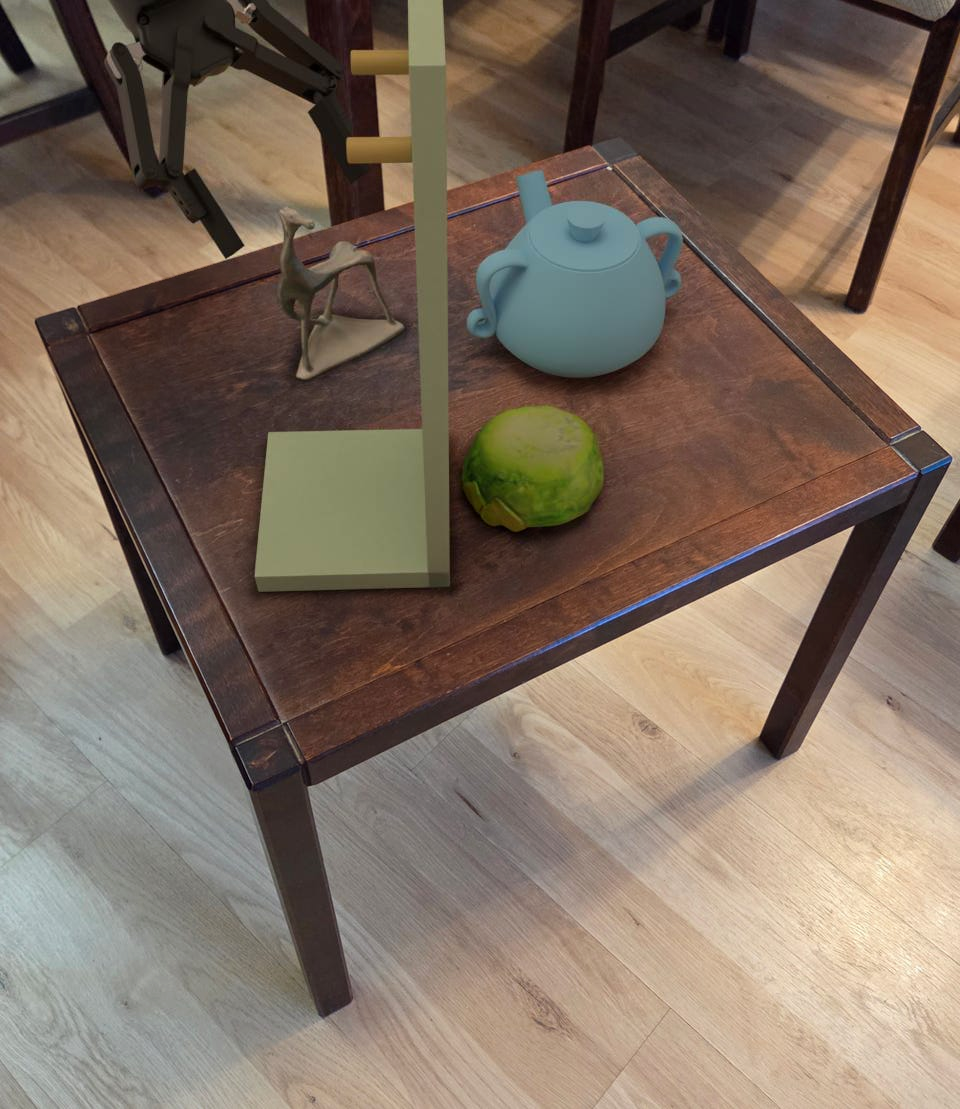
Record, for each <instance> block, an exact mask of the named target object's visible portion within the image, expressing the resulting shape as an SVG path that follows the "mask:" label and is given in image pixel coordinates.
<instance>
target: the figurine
mask: <svg viewBox="0 0 960 1109" xmlns="http://www.w3.org/2000/svg"><path fill="white" fill-rule="evenodd" d="M277 214H278V217H279V218H280V220H281V224H282V230H283V239H282V240H283V242H282V248H281V251H280V254H279V257H278V258H279V259H278V265H279V269H280V276H279V280H278V286H277V290H276V298H277V304H278V306H279V308H280V311H281V312H282V313H283V314H284V315H285V316H286V317H287V318H289V319H292V320H297V321H299V322H300V345H301V357H300V360H299V363H298V368H297V371H296V374H295V377H296V378H297V379H300V380H305V381H306V380H309V379H311V378H313V377H316V376H318V375H320V374H323V373H324V372H326V371H328V370H331V369H333V368H335V367H338V366H340V365H343V364H345V363H347V362H350V361H352V360H355V359H356V358H359V357H361V356H363V355H365V354H367V353H369V352H371V351H373V350H374V349H376V348H378V347H379V346H381V345H383V344H385V343H386V342H388V341H390V340H391V339H392V338H394V337H396V336H398V335H399V334H401V333H402V332H403V331H405V326H404V324H403V323H402V322H400V321H398V320H395V318H394V316H393V315H392V313H391V311H390V309H389V308H388V305H387V303H386V300H385V298H384V296H383V293H382V291H381V288H380V286H379V284H378V281H377V279H378V278H377V269H376V263H375V259H374V257H373V256H372V254H371V253H370V252H368V251H367V250H363V249H358V247H357V245H353V244H352V243H351V242H349V241H346V240H341V241H338V242H337V243H335V245H334V246H333V247H332V249H331V250H330V253H329V255H328V259H327V260H325V261H322V262H320V263H317V264H315V265H312V266H311V267H309V268H308V267H306V265H305V264H304V263H303V262H302V261H301V260H300V258H299V257H298V255H297V254H296V251H295V246H294V238H295V236H296V235H295V234H296V233H297V231H298V230H299V229H300V227H304V228H305V229H307V230H309V231H311V230H314V228H315V226H316V224H315V222H314V221H313V220H312V219H310V218H309V217H305V216H303V215H302V214H301V213H299V212H298V211H297V210H296V209H294V208H291V207H290V206H288V205H286V206H284V207H283V208H278V209H277ZM358 266H362V267H363V269H364V270H365V272H366V273H367V276H368V279H369V282H370V284H371V287H372V291H373V294H374V296H375V298H376V299H377V301H378V303H379V305H380V306H381V308H382V310H383V312H384V314H385V319H366V318H365V319H364V318H353V317H347V316H343V315H337V314H332V311H333V310H332V308H333V304H334V300H335V296H336V294H337V291H338V288H339V277H340V274H341V273H343V272H344V271H346V270H347V271H348V270H350V269H351V268H353V267H358ZM329 284H330V285H329ZM328 285H329V288H328V289H329V291H328V294H327V300H326V303H325V307H324V310H323V314H321V315H319V317H318V318H310V317H311V310H312V305H313V301H314V298H315V295H316V294H317V293H319V292H320V291H321V290H324V288H326V287H327V286H328ZM296 301H297V302H298V303H299V306H300V309H301V314H299V313H297V312H296V311H295V305H296ZM310 325H312V326H313V328H312V330H311V332H310V334H309V326H310Z"/></svg>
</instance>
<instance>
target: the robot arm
mask: <svg viewBox="0 0 960 1109" xmlns="http://www.w3.org/2000/svg"><path fill="white" fill-rule="evenodd" d="M108 2H109V3H110V5H111V7H112V8H113V10H114V11H115V13H116V14H117V17H118V18H119V19H120V21H121V22H122V24H123V25H124V27H125V28H126V29H127V30H128V31H129V32H130V34H132V36H133V38H134V42H132V43H130V44H129V43H128V44H127V45H126V44H125V43H123V42H121V41H118V42H114V43H113V45H112V46H111V48H110V49H109V51H108V53H107V54H106V57H105V59H104V63H103V64H104V66H105V69H106V70H107V73H108V75H109V76H110V78H111V80H112V82H113V83H114V86H115V87H116V90H117V96H118V103H119V107H120V113H121V118H122V123H123V130H124V135H125V141H126V147H127V151H128V158H129V163H130V168H131V175H132V180H133V183H134V185H135V186H136V187H137V188H138V189H141V190H146V189H148V188H150V187H151V188H152V187H158V188H159V189H160V190H162V191H163V190H164V191H166V190H167V191H168V192H169V194H170V196H171V197H172V198H173V200H174V201H175V204H176V205H177V206H178V207H179V209H180V211H181V212H182V214H183V215H184V216H185V219H186V220H187V221H189V222H190V223H191V224H193V225H195V224H196V223H198V222H199V221H200V223H201V224H202V226H203V227H204V229H205V231H206V232H207V233H208V235H209V236H210V238H211V239H212V241H213V243H214V244H215V245H216V247H217V248H218V250H219V251H220V253H221V255H222V256H223V258H224V259H225V260H227V259H229V258H230V257H231V256H233V255H235V254H236V253H238V252H239V251H240V250H241V249H242V248H244V247H245V246H246V244H245V243H244V241H242V239H241V238H240V235H239V234H238V233H237V231H236V229H235V228H234V226H233V225H232V223H231V222H230V220H229V219H228V217H227V216H226V214H225V213H224V211H223V210H222V207H221V206H220V205H219V204H218V202H217V200H216V198H215V197H214V196H213V194H212V193H211V191H210V190H209V188H208V186H207V185H206V183H205V181H204V180H203V179H202V177H201V176H200V174H199V173H198V171H197V169H196V168H193V169H191V170H189V171H187V172H186V173H184V161H185V160H184V159H185V145H186V144H185V143H186V129H187V127H186V125H187V113H188V112H187V111H188V96H189V95H188V94H189V88H190V86H192V87H193V88H195V87H197V86H198V85H200V84H202V83H203V82H204V81H205V80H206V79H207V78H209V77H216V76H218V75H220V74H222V73H224V72H225V71H227V69H228V68H229V67H231V68H232V69H235V70H238V71H242V70H243V71H247V72H249V73H250V74H253V75H254V76H256V77H259V78H261V79H262V80H265V81H266V82H269V83H271V84H273V85H275V86H277V87H279V88H280V89H283V90H285V91H286V92H289V93H290V94H293V95H295V96H297V97H299V98H301V99H303V100H304V101H306V102H307V101H308V103H311V104H312V105H313V106H312V107H311V108H310V109H309V110H308V111H307V114H308V116H309V118H310V119H311V121H312V122H313V124H314V126H315V127H316V129H317V131H318V132H319V134H320V135H321V137H322V139H323V140H324V142H325V143H326V146H327V147H328V148H329V151H330V152H331V153H332V155H333V157H334V159H335V160H336V162H337V163H338V165H339V167H340V169H341V170H342V172H343V173H344V175H345V177H346V179H347V180H348V182H349V184H353V183H354V182H356V181H357V180H359V179H360V178H362V177H363V176H364V175H366V174H367V173H368V172H370V171H371V170H372V167H371V166H370V164H369V163H348V160H347V148H346V140H347V138H348V137H353V135H351V133H352V132H353V131H355V130H354V129H355V128H354V124H353V122H352V120H351V119H350V117H349V115H348V113H347V112H346V110H345V108H344V107H343V105H342V103H341V102H340V100H339V98H338V96H337V94H336V90H337V89H338V86H339V83H340V81H341V80H342V79H343V78H344V77H345V76H346V73H347V72H346V67H345V66H344V64H342V63H341V61H339V60H338V59H336V57H334V56H333V55H332V54H330V53H329V52H328V51H326V50H325V49H324V48H323V47H322V46H320V45H319V44H318V43H317V42H315V41H314V40H313V39H312V38H311V37H309V36H308V35H307V34H306V33H304V32H303V31H302V30H301V29H300V28H299V27H298V26H296V25H295V24H294V23H293V22H291V21H290V19H289V20H288V18H287V17H285V16H284V15H283V14H281V13H280V12H279V11H278V10H277V9H276V8H274V7H273V6H272V5H271V4H270V3H269V1H268V0H108ZM236 18H237V19H238V21H239V23H240V24H243V25H244V24H247V25H248V26H249V27H250V29H251V30H252V31H254V33H256V34H257V35H258V36H259V37H260V38H262V39H263V40H264V41H265V42H266V43H268V44H269V45H270V46H272V47H273V48H274V49H275V50H277V51H278V52H277V51H275V50H273V49H271V48H270V47H267V46H265V45H263V44H261V43H260V42H259V41H258V39H257V38H256V37H255V36H254V35H251V34H250V33H248V32H246V31H244V30H242V29H240V28H238V27H236ZM236 48H237V49H236ZM142 61H143V62H144V63H146V64H147V65H149V66H151V67H153V68H155V69H156V70H158V71H160V72H161V73H162V76H161V80H162V81H161V91H160V92H161V94H160V95H161V96H160V97H161V98H162V104H161V106H162V107H161V122H160V138H159V151H158V152H159V154H158V161H157V155H156V150H155V142H154V139H153V133H152V126H151V121H150V115H149V110H148V104H147V100H146V94H145V88H144V83H143V82H144V81H143V79H142V78H143V77H142V75H141V73H142V72H143V69H144V66H143V62H142Z"/></svg>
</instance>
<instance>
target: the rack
mask: <svg viewBox="0 0 960 1109" xmlns="http://www.w3.org/2000/svg"><path fill="white" fill-rule="evenodd" d="M407 31H408V32H407V33H408V34H407V36H408V38H407V40H408V45H407V46H408V49H352V50H351V51H350V69H351V70H350V71H351V74H352V76H402V75H404V76H405V75H406V76H408V83H409V86H408V87H409V107H410V108H409V109H410V110H409V111H410V112H409V113H410V135H411V136H352V137H348V138H347V140H346V148H347V160H348V163H368V164H411V163H412V164H411V165H412V190H413V191H412V192H413V216H414V219H413V221H414V243H415V244H414V246H415V273H416V274H415V275H416V298H417V299H416V300H417V326H418V328H417V329H418V352H419V353H418V354H419V378H420V379H419V380H420V382H419V383H420V405H421V407H420V408H421V428H397V429H396V428H395V429H393V428H392V429H353V430H352V429H351V430H350V429H349V430H348V429H347V430H346V429H345V430H305V431H304V430H303V431H299V430H298V431H268V433H267V441H266V443H267V444H266V452H265V462H264V475H263V484H262V494H261V505H260V513H259V514H260V515H259V526H258V536H257V547H256V557H255V565H254V566H255V568H254V579H255V584H256V588H257V591H258V592H259V593H265V592H266V593H267V592H268V593H271V592H304V591H336V590H337V591H338V590H339V591H343V590H375V589H376V590H377V589H379V590H380V589H381V590H382V589H412V588H414V589H415V588H449V587H451V586H450V585H451V572H450V569H451V568H450V564H451V563H450V562H451V559H450V557H451V555H450V552H451V551H450V548H451V547H450V438H449V437H450V434H449V433H450V431H449V428H450V427H449V426H450V425H449V423H450V420H449V414H450V413H449V412H450V411H449V410H450V409H449V305H448V304H449V303H448V302H449V299H448V298H449V294H448V293H449V292H448V290H449V286H448V285H449V284H448V279H449V277H448V169H447V168H448V158H447V156H448V155H447V154H448V152H447V150H448V149H447V143H448V142H447V137H448V136H447V59H446V57H447V56H446V39H445V37H446V36H445V18H444V0H407Z"/></svg>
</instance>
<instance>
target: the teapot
mask: <svg viewBox="0 0 960 1109" xmlns="http://www.w3.org/2000/svg"><path fill="white" fill-rule="evenodd" d="M515 181H516V187H517V190H518V195H519V199H520V203H521V208H522V213H523V217H524V220H525V225H524V226H523V227H522V228H521V229H520V230H519V231H518V233H517V234H516V235H515V236H514V237H513V238H512V239H511V240H510V242H509V243H508V245H507V246H506V247H505V248H504V249H501V250H498V251H495V252H493V253H491V254H489V255H488V256H487V257H485V258H484V259H483V260H482V262H481V263H480V264H479V266H478V267H477V270H476V275H475V283H476V284H475V285H476V290H477V294H478V297H479V301H480V303H481V305H482V308H479V307H478V308H475V309H473V310H472V311H470V312H469V314H468V316H467V317H466V328H467V331H468V332H469V333H470V334H471V335H472V336H473V337H475V338H479V339H488V338H491V337H492V336H494V335H495V336H496V338H497V340H498V341H499V343H501V344H502V346H503V347H504V348H506V350H508V351H509V352H510V353H511V354H512V355H513V356H514V357H516V358H517V359H518V360H521V362H523V363H524V364H526V365H528V366H530V367H532V368H534V369H535V370H537V371H540V372H542V373H545V374H548V375H552V376H555V377H561V378H570V379H585V378H595V377H599V376H603V375H606V374H609V373H612V372H613V373H614V372H616V371H618V370H621V369H622V368H625V367H628V366H629V365H631V364H632V363H635V362H636V361H638V360H639V359H641V358H642V357H643V356H644V355H646V354H647V353H648V351H650V350H651V348H652V347H653V346H654V345H655V343H656V342H657V340H658V339H659V337H660V335H661V333H662V331H663V328H664V324H665V317H666V299H669V298H671V297H673V296H675V295H676V294H678V293H679V291H680V289H681V287H682V276H681V274H680V272H679V271H678V270H677V269H674V267H675V265H676V263H677V261H678V259H679V256H680V255H681V252H682V249H683V243H684V242H683V241H684V239H683V238H684V237H683V233H682V230H681V229H680V227H679V226H678V225H677V224H676V223H675V221H673V220H671V219H669V218H667V217H662V216H654V217H649V218H647V219H646V218H645V219H644V220H641V221H639V222H638V223H636V224H635V222H634V221H633V220H632V219H631V218H630V217H629V216H628V215H626V214H625V213H623V212H622V211H620V210H618V209H617V208H615V207H613V206H610V205H607V204H604V203H601V202H596V201H591V200H590V201H588V200H571V201H565V202H561V203H556V204H553V202H552V199H551V195H550V191H549V189H548V185H547V181H546V177H545V173H544V170H543V169H539V170H535V171H530V172H527V173H523V174H521V175H518V176H515ZM658 235H668V238H667V242H666V245H665V247H664V249H663V251H662V253H661V256H660V257H659V259H658V260H657V259H656V256H655V254H654V252H653V250H652V249H651V246H650V245H649V244H648V242H647V239H650V238H652V237H655V236H658ZM481 320H482V321H481Z"/></svg>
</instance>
